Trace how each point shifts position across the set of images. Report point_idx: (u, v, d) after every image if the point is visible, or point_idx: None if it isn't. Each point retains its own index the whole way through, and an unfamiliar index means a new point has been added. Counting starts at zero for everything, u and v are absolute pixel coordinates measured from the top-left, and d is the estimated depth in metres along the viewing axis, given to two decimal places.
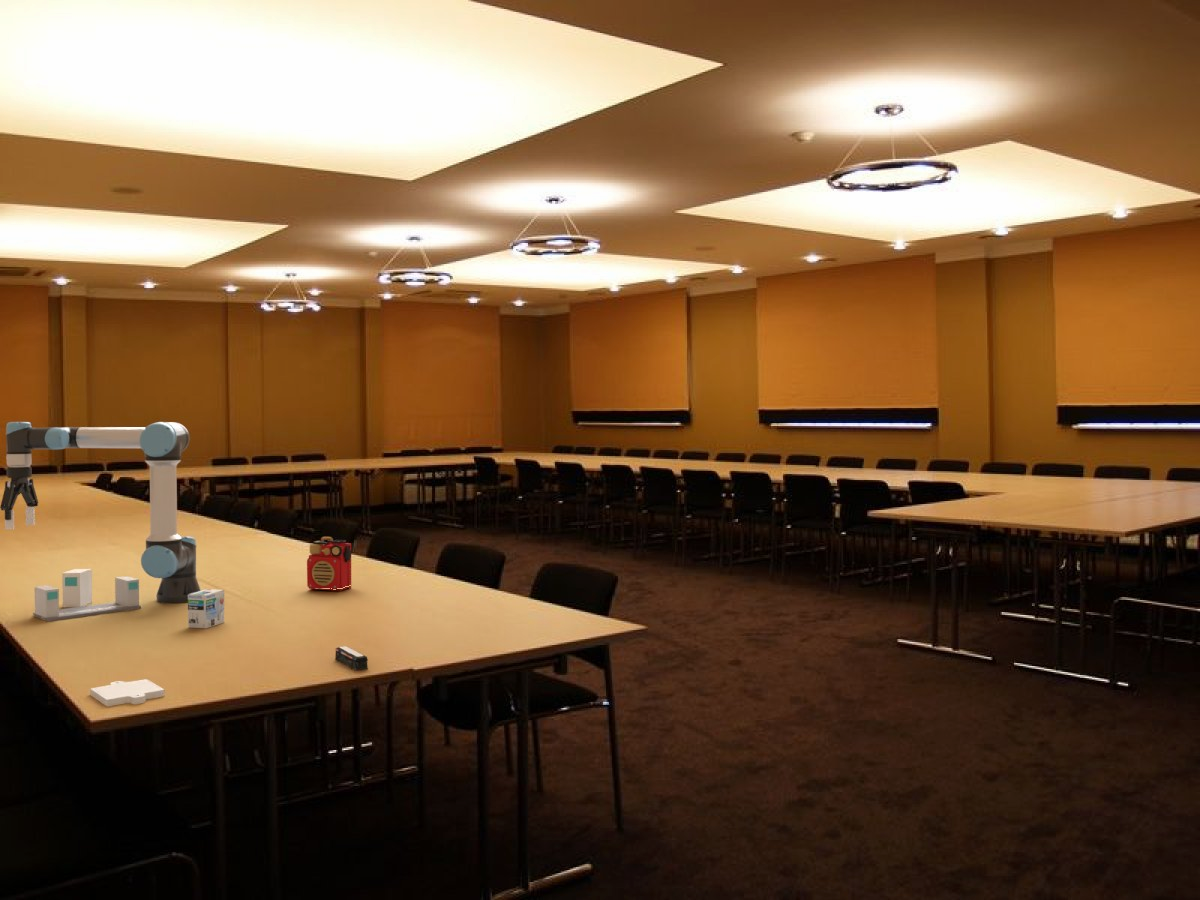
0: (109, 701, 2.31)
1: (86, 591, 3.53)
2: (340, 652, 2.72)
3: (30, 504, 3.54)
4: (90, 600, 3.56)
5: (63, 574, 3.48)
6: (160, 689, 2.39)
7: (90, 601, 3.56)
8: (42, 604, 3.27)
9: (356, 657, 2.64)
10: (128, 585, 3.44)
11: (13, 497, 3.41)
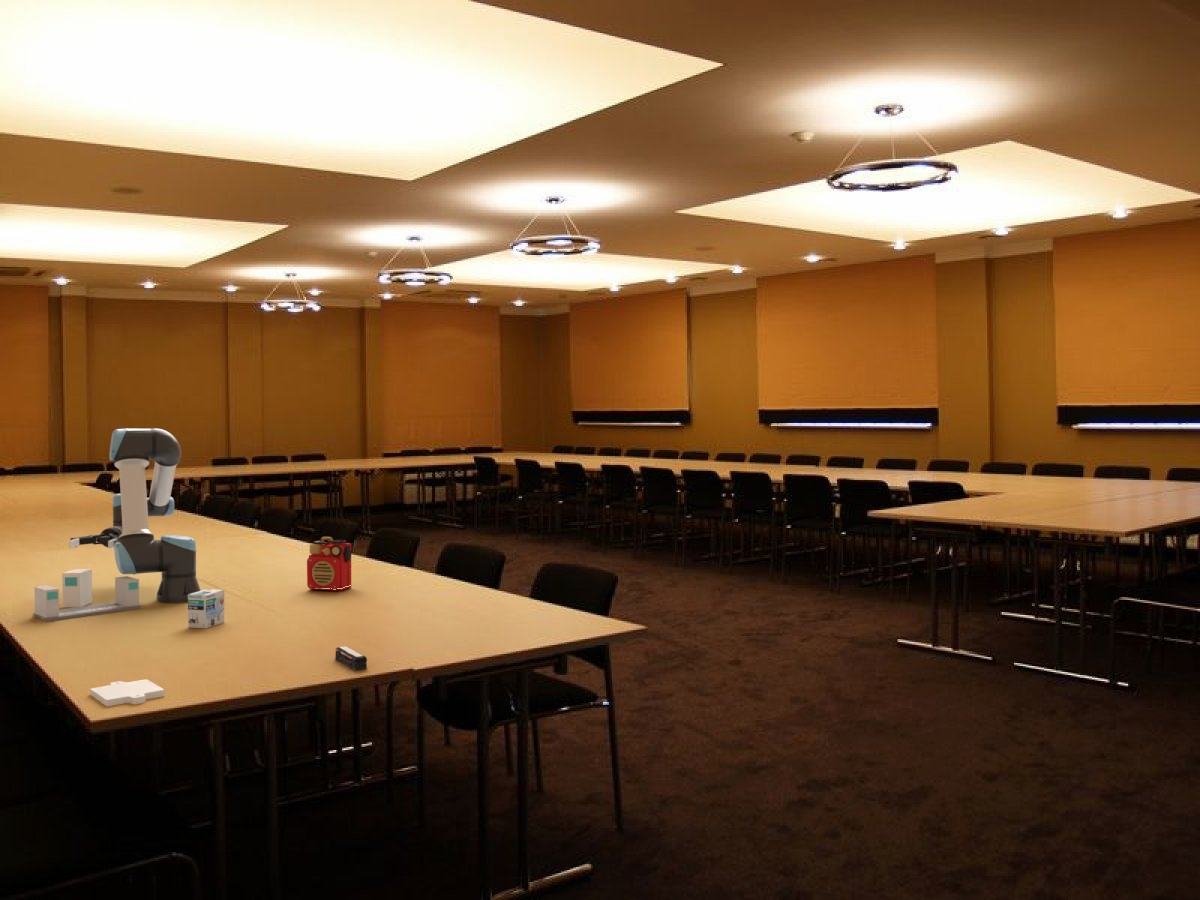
0: (109, 701, 2.31)
1: (86, 591, 3.53)
2: (340, 652, 2.72)
3: None
4: (90, 600, 3.56)
5: (63, 574, 3.48)
6: (160, 689, 2.39)
7: (90, 601, 3.56)
8: (42, 604, 3.27)
9: (355, 657, 2.64)
10: (128, 585, 3.44)
11: None
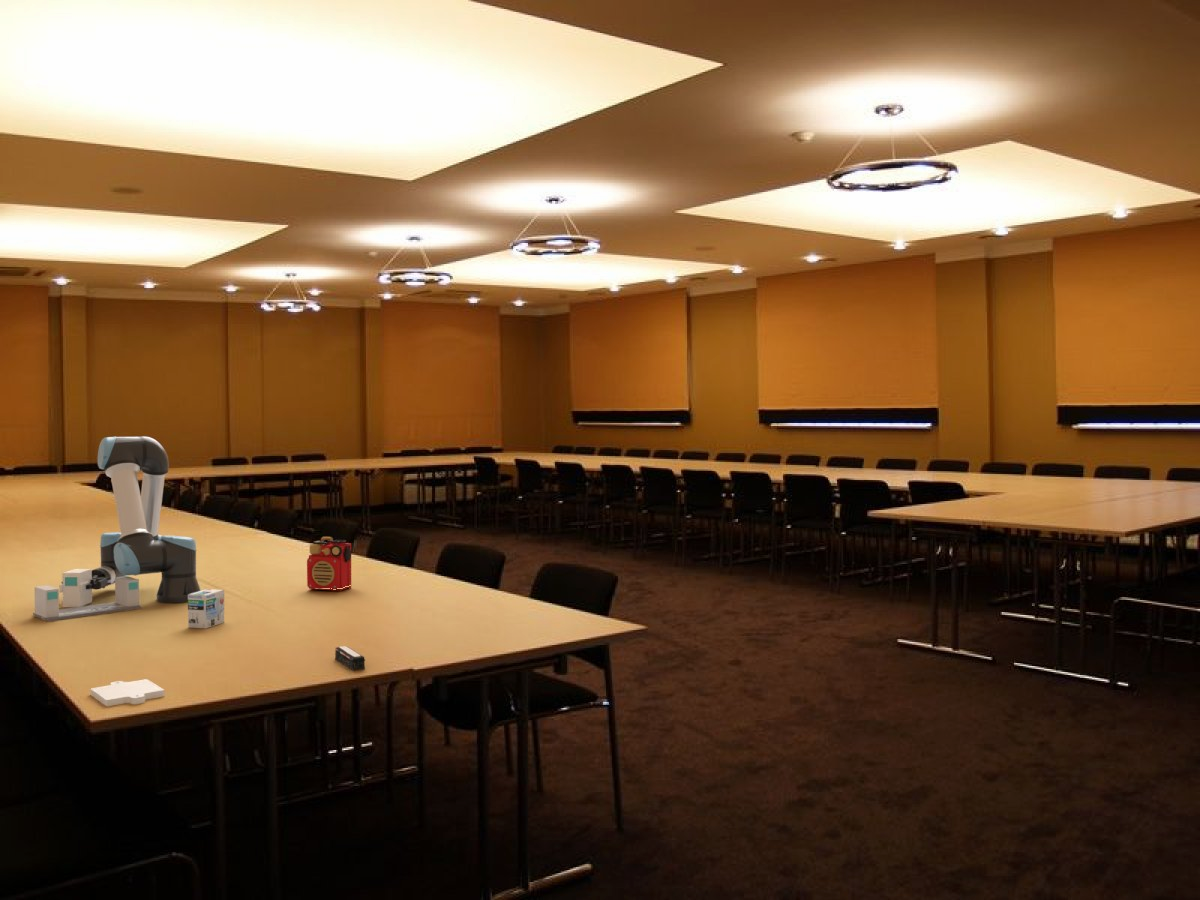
0: (109, 701, 2.31)
1: (86, 591, 3.53)
2: (339, 652, 2.73)
3: None
4: (90, 600, 3.56)
5: (63, 574, 3.48)
6: (160, 689, 2.39)
7: (90, 601, 3.56)
8: (42, 604, 3.27)
9: (353, 657, 2.64)
10: (128, 585, 3.44)
11: None
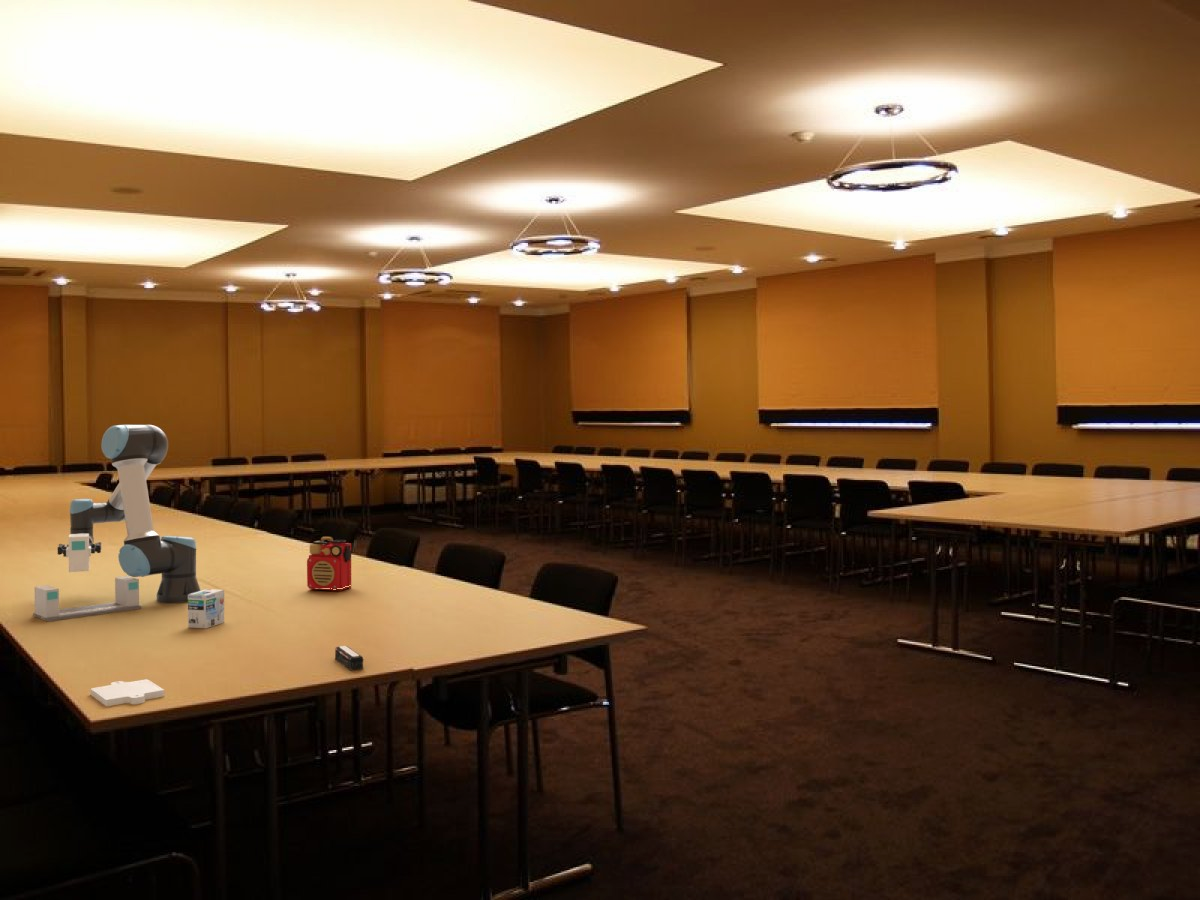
0: (109, 701, 2.31)
1: None
2: (339, 651, 2.73)
3: None
4: None
5: (69, 538, 3.40)
6: (160, 689, 2.39)
7: None
8: (42, 604, 3.27)
9: (351, 657, 2.64)
10: (128, 585, 3.44)
11: None
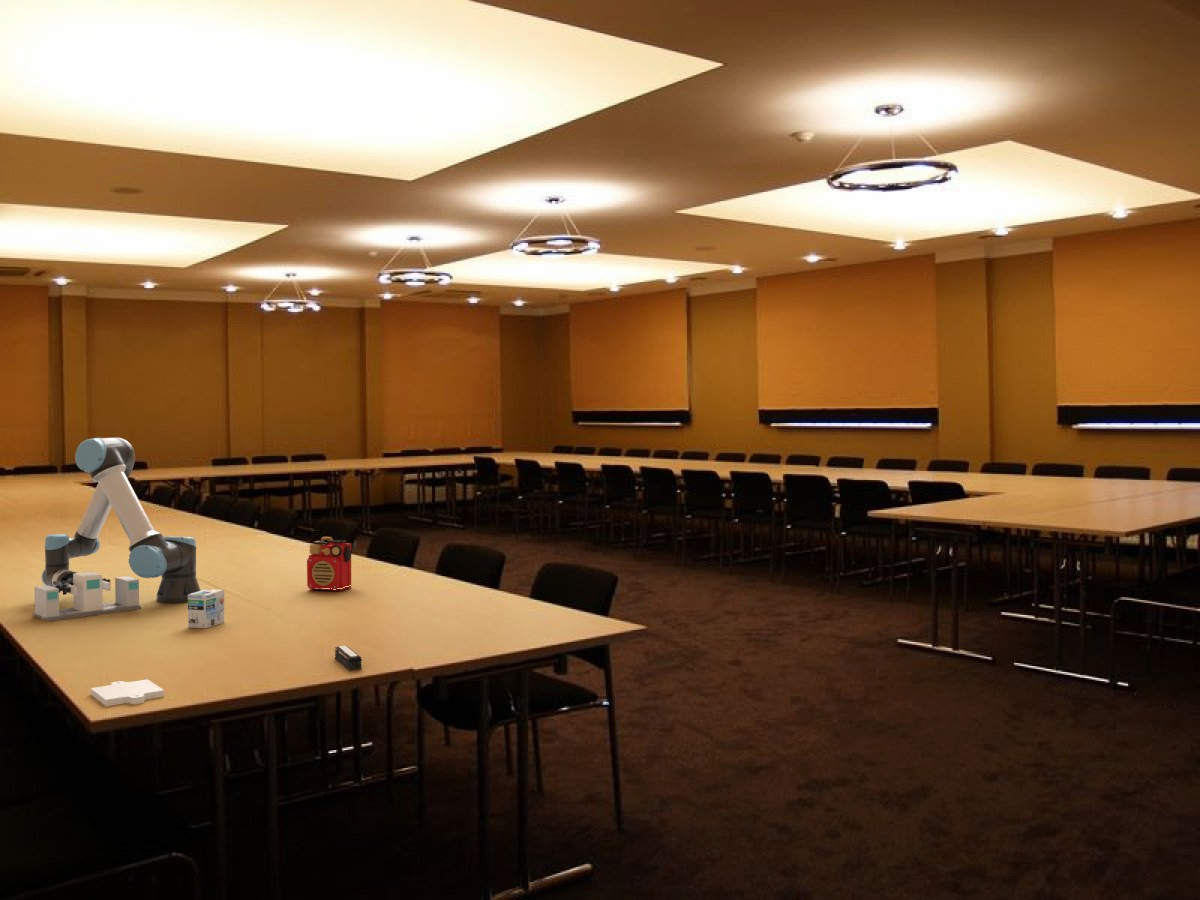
0: (108, 701, 2.31)
1: None
2: (338, 651, 2.73)
3: None
4: None
5: (84, 577, 3.34)
6: (160, 689, 2.39)
7: None
8: (42, 604, 3.27)
9: (350, 657, 2.64)
10: (128, 585, 3.44)
11: (65, 584, 3.40)
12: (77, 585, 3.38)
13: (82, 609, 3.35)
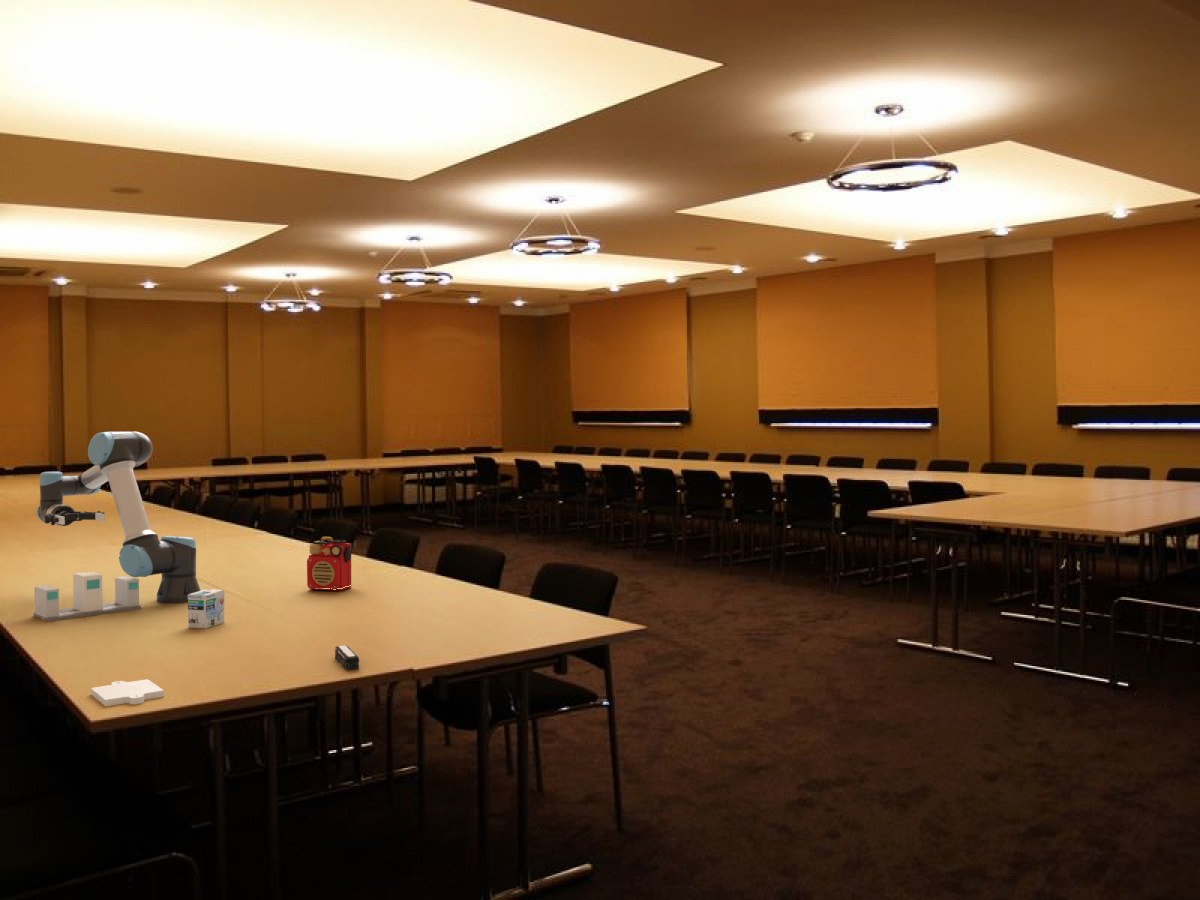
0: (108, 701, 2.31)
1: None
2: (337, 651, 2.73)
3: None
4: None
5: (84, 577, 3.34)
6: (159, 690, 2.39)
7: None
8: (42, 604, 3.27)
9: (347, 657, 2.64)
10: (128, 585, 3.44)
11: None
12: (77, 585, 3.38)
13: (82, 609, 3.35)
